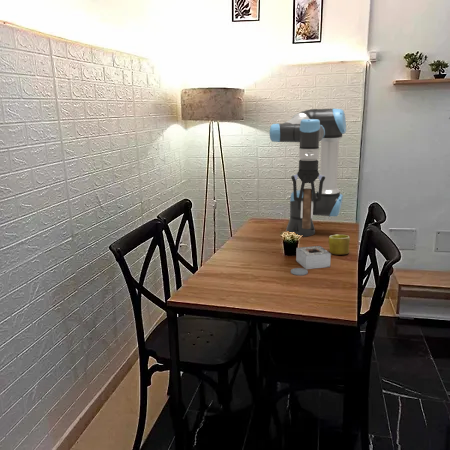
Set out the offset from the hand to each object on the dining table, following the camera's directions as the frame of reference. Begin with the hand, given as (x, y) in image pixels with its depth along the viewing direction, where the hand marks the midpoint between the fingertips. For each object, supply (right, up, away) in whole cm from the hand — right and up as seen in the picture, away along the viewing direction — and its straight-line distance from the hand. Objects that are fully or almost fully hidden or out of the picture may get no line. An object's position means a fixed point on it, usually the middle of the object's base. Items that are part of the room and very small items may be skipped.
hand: (306, 217), depth 178 cm
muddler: (0, -4, +1) cm, 4 cm away
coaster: (-3, -23, +2) cm, 23 cm away
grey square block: (+5, -20, +12) cm, 24 cm away
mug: (+20, -16, +27) cm, 37 cm away
